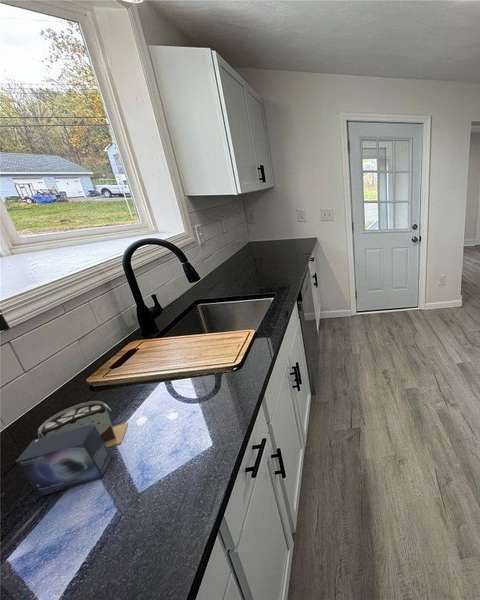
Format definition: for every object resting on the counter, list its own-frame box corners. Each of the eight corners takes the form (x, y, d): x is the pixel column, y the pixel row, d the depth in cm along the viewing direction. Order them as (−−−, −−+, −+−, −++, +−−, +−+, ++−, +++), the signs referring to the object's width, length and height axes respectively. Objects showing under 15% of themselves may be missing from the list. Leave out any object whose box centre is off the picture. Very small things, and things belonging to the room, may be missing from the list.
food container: (122, 423, 84) (107, 392, 80) (123, 435, 80) (107, 404, 76) (58, 450, 76) (38, 418, 73) (55, 465, 72) (34, 432, 68)
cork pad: (50, 467, 72) (49, 466, 72) (63, 444, 79) (63, 443, 78) (121, 443, 78) (120, 442, 78) (128, 423, 84) (127, 422, 84)
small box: (38, 499, 65) (12, 462, 61) (56, 474, 70) (32, 439, 66) (102, 479, 68) (81, 442, 64) (114, 456, 74) (95, 422, 70)
